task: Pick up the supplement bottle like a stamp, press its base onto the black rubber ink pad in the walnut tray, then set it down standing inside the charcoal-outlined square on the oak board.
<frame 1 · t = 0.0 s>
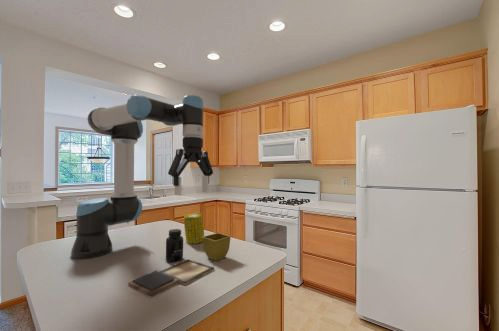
hand: (192, 193, 87), 28 cm above the countertop, fingers open, 13 cm apart
supplement bottle: (174, 260, 95), on the countertop
ink tray: (153, 284, 75), on the countertop
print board: (186, 271, 84), on the countertop
flower pot: (216, 258, 97), on the countertop
ink pad: (153, 280, 75), on the ink tray, point 1 cm above the countertop
food: (194, 242, 118), on the countertop
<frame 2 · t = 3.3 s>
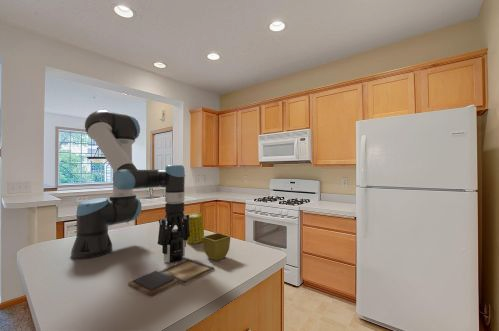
hand: (174, 258, 95), 1 cm above the countertop, fingers closed on supplement bottle, 7 cm apart
supplement bottle: (174, 260, 95), on the countertop, touching gripper
everything else where it was.
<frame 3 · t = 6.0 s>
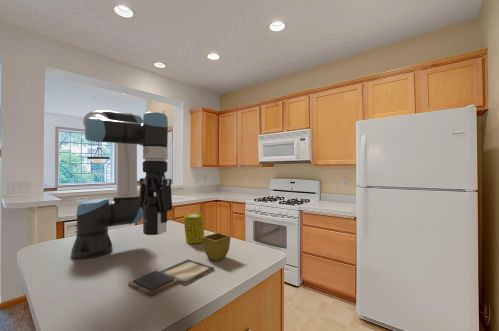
hand: (154, 230, 75), 17 cm above the countertop, fingers closed on supplement bottle, 7 cm apart
supplement bottle: (154, 233, 75), point 16 cm above the countertop, touching gripper
everything else where it was.
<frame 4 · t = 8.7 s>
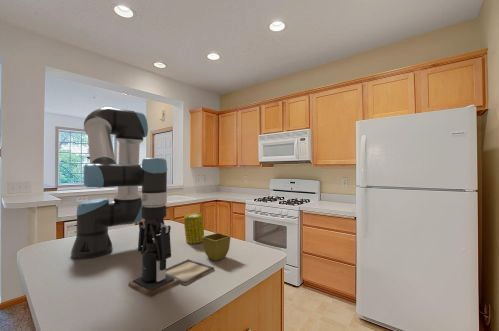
hand: (153, 276, 75), 2 cm above the countertop, fingers closed on supplement bottle, 7 cm apart
supplement bottle: (153, 278, 75), point 2 cm above the countertop, touching gripper
everything else where it was.
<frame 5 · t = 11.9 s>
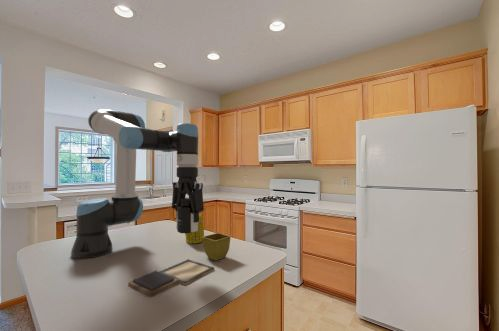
hand: (187, 229, 84), 15 cm above the countertop, fingers closed on supplement bottle, 7 cm apart
supplement bottle: (186, 231, 84), point 15 cm above the countertop, touching gripper
everything else where it was.
when the fingers open (2 cm above the countertop, at t = 14.4 s): supplement bottle drops 1 cm, resting on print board.
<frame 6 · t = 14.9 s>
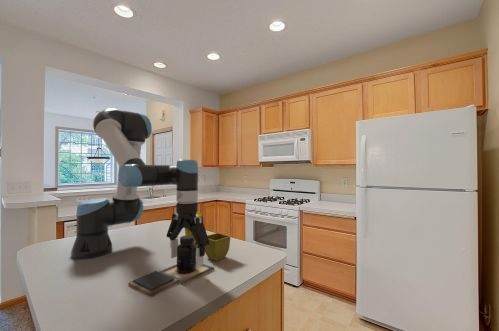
hand: (186, 261, 84), 4 cm above the countertop, fingers open, 13 cm apart
supplement bottle: (186, 270, 83), resting on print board
everything else where it was.
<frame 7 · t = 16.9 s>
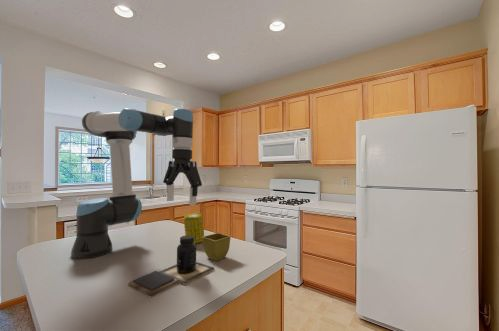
hand: (181, 202, 91), 24 cm above the countertop, fingers open, 13 cm apart
nothing on the countertop moved.
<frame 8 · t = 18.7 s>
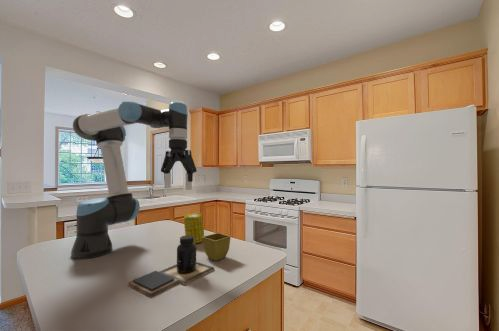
hand: (177, 189, 99), 29 cm above the countertop, fingers open, 13 cm apart
nothing on the countertop moved.
at the end: supplement bottle inside the target area on the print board (0.1 cm from its centre), point 0.4 cm above the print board's base; supplement bottle tilted 0°; the gripper is holding nothing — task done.
